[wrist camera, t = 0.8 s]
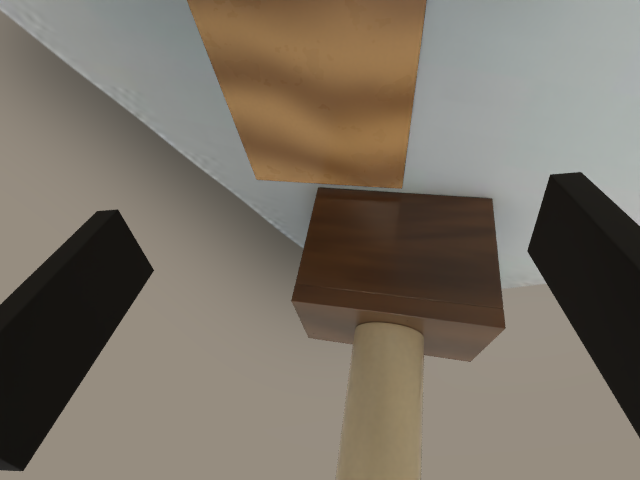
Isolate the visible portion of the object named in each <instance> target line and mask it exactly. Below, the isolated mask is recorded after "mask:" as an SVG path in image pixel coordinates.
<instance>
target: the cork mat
mask: <svg viewBox="0 0 640 480" xmlns="http://www.w3.org/2000/svg"><path fill="white" fill-rule="evenodd" d="M426 1H427V0H187V2H188V4H189V7H190V10H191V12H192V15H193V17H194V20H195V22H196V25H197V28H198V30H199V33H200V35H201V38H202V40H203V43H204V46H205V48H206V51H207V53H208V56H209V58H210V61H211V64H212V66H213V69H214V71H215V74H216V76H217V79H218V82H219V84H220V87H221V89H222V92H223V94H224V97H225V99H226V102H227V105H228V107H229V110H230V112H231V115H232V117H233V120H234V123H235V125H236V128H237V130H238V133H239V135H240V138H241V141H242V143H243V146H244V148H245V151H246V153H247V156H248V159H249V161H250V164H251V166H252V169H253V171H254V174H255V177H256V179H257V180H270V181H287V182H303V183H319V184H336V185H352V186H368V187H384V188H401V189H402V184H403V176H404V169H405V161H406V154H407V146H408V138H409V131H410V123H411V115H412V108H413V100H414V92H415V85H416V77H417V70H418V62H419V54H420V47H421V39H422V31H423V24H424V16H425V8H426Z"/></svg>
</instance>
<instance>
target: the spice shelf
mask: <svg viewBox="0 0 640 480" xmlns="http://www.w3.org/2000/svg"><path fill="white" fill-rule="evenodd" d="M291 301H292V303H293V305H294V307H295V310H296V312H297V314H298V316H299V318H300V320H301V323H302V325H303V327H304V329H305V331H306V333H307V335H308V337H309V338H313V339H320V340H326V341H333V342H340V343H347V344H353V339H354V332H355V328H356V327H357V326H358V325H360V324H364V323H371V322H384V323H393V324H398V325H403V326H406V327H409V328H412V329H414V330H417V331H418V332H420V333H421V334H422V335H423V336H424V355H428V356H434V357H441V358H448V359H455V360H461V361H468V362H471V361H472V360H473V359H474V358H475V357H476V356H477V355H478V354H479V353H480V352H481V351H482V350H483V349H484V348H485V347H486V346H488V345H489V344H490V343H491V342H492V341H493V340H494V339H495V338H496V337H497V336H498V335H499V334H500V333H501V332H502V331H503V330H504V329H505V319H504V310H503V301H502V291H501V281H500V271H499V261H498V251H497V241H496V231H495V221H494V211H493V201H492V199H488V198H473V197H457V196H441V195H426V194H410V193H394V192H379V191H363V190H347V189H331V188H318V190H317V195H316V199H315V203H314V207H313V211H312V216H311V220H310V224H309V228H308V233H307V237H306V241H305V245H304V250H303V254H302V258H301V262H300V267H299V271H298V275H297V279H296V284H295V287H294V292H293V296H292V300H291Z"/></svg>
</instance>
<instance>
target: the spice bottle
mask: <svg viewBox="0 0 640 480" xmlns="http://www.w3.org/2000/svg"><path fill="white" fill-rule="evenodd" d="M423 368H424V336H423V335H422V334H421V333H420V332H418V331H417V330H414V329H412V328H409V327H406V326H403V325H398V324H393V323H384V322H371V323H364V324H360V325H358V326H357V327H356V328H355V332H354V339H353V347H352V355H351V363H350V371H349V378H348V387H347V394H346V402H345V409H344V417H343V425H342V433H341V440H340V448H339V457H338V464H337V471H336V480H421V458H422V414H423V370H424V369H423Z"/></svg>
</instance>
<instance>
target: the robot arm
mask: <svg viewBox="0 0 640 480" xmlns="http://www.w3.org/2000/svg"><path fill="white" fill-rule="evenodd" d="M528 253H529V255H530V256H531V258H532V260H533V261H534V263H535V265H536V266H537V268H538V270H539V271H540V273H541V275H542V276H543V278H544V280H545V281H546V283H547V285H548V286H549V288H550V290H551V291H552V293H553V294H554V296H555V298H556V300H557V301H558V303H559V305H560V306H561V308H562V310H563V311H564V313H565V314H566V316H567V318H568V319H569V321H570V323H571V324H572V326H573V328H574V330H575V331H576V332H577V335H578V336H579V338H580V340H581V341H582V343H583V344H584V346H585V348H586V349H587V351H588V353H589V354H590V356H591V357H592V359H593V361H594V363H595V364H596V366H597V367H598V369H599V371H600V373H601V374H602V376H603V378H604V379H605V381H606V382H607V384H608V386H609V388H610V389H611V391H612V393H613V394H614V396H615V398H616V399H617V401H618V403H619V404H620V406H621V408H622V409H623V411H624V413H625V414H626V416H627V418H628V419H629V421H630V423H631V424H632V426H633V428H634V429H635V431H636V433H637V434H638V436H639V438H640V226H639V225H638V224H637V223H636V222H635V221H633V220H632V219H631V218H630V217H629V216H628V215H627V214H626V213H625V212H624V211H623V210H621V209H620V208H619V207H618V206H617V205H616V204H615V203H614V202H613V201H612V200H611V199H610V198H608V197H607V196H606V195H605V194H604V193H603V192H602V191H601V190H600V189H599V188H598V187H597V186H595V185H594V184H593V183H592V182H591V181H590V180H589V179H588V178H587V177H586V176H585V175H583V174H582V173H581V172H577V173H565V174H552V175H550V177H549V181H548V184H547V187H546V191H545V194H544V197H543V201H542V204H541V207H540V211H539V214H538V217H537V221H536V224H535V227H534V231H533V234H532V237H531V241H530V244H529V247H528ZM153 271H154V270H153V268H152V266H151V265H150V263H149V261H148V260H147V258H146V256H145V255H144V253H143V251H142V249H141V248H140V246H139V244H138V243H137V241H136V239H135V238H134V236H133V234H132V232H131V231H130V229H129V228H128V226H127V224H126V222H125V221H124V219H123V217H122V216H121V214H120V212H119V211H118V210H106V211H97V212H96V213H95V214H94V215H93V216H92V217H91V218H90V219H89V220H88V221H87V222H86V223H84V224H83V225H82V226H81V227H80V228H79V229H78V230H77V231H76V232H75V233H74V234H73V235H72V236H71V237H70V238H69V239H68V240H67V241H66V242H65V243H64V244H63V245H62V246H61V247H60V248H59V249H58V250H57V251H55V252H54V253H53V254H52V255H51V256H50V257H49V258H48V259H47V260H46V261H45V262H44V263H43V264H42V265H41V266H40V267H39V268H38V269H37V270H36V271H35V272H34V273H33V274H32V275H31V276H29V277H28V278H27V279H26V280H25V281H24V282H23V283H22V284H21V285H20V286H19V287H18V288H17V289H16V290H15V291H14V292H13V293H12V294H11V295H10V296H9V297H8V298H7V299H6V300H5V301H4V302H3V303H2V304H1V305H0V470H8V471H24V469H25V467H26V466H27V464H28V463H29V461H30V460H31V458H32V457H33V455H34V454H35V452H36V451H37V449H38V447H39V446H40V444H41V443H42V441H43V440H44V438H45V437H46V435H47V433H48V432H49V431H50V429H51V428H52V426H53V425H54V423H55V421H56V420H57V418H58V417H59V415H60V414H61V412H62V411H63V409H64V408H65V406H66V404H67V403H68V401H69V400H70V398H71V397H72V395H73V394H74V392H75V391H76V389H77V388H78V386H79V385H80V383H81V381H82V380H83V379H84V377H85V375H86V374H87V372H88V371H89V369H90V368H91V366H92V364H93V363H94V361H95V360H96V358H97V357H98V355H99V354H100V352H101V351H102V349H103V348H104V346H105V345H106V343H107V342H108V340H109V339H110V337H111V336H112V334H113V332H114V331H115V329H116V328H117V326H118V325H119V323H120V322H121V320H122V319H123V317H124V316H125V314H126V313H127V311H128V309H129V308H130V306H131V305H132V303H133V302H134V300H135V299H136V297H137V296H138V294H139V293H140V291H141V290H142V288H143V286H144V285H145V283H146V282H147V280H148V278H149V277H150V276H151V274H152V272H153Z"/></svg>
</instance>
